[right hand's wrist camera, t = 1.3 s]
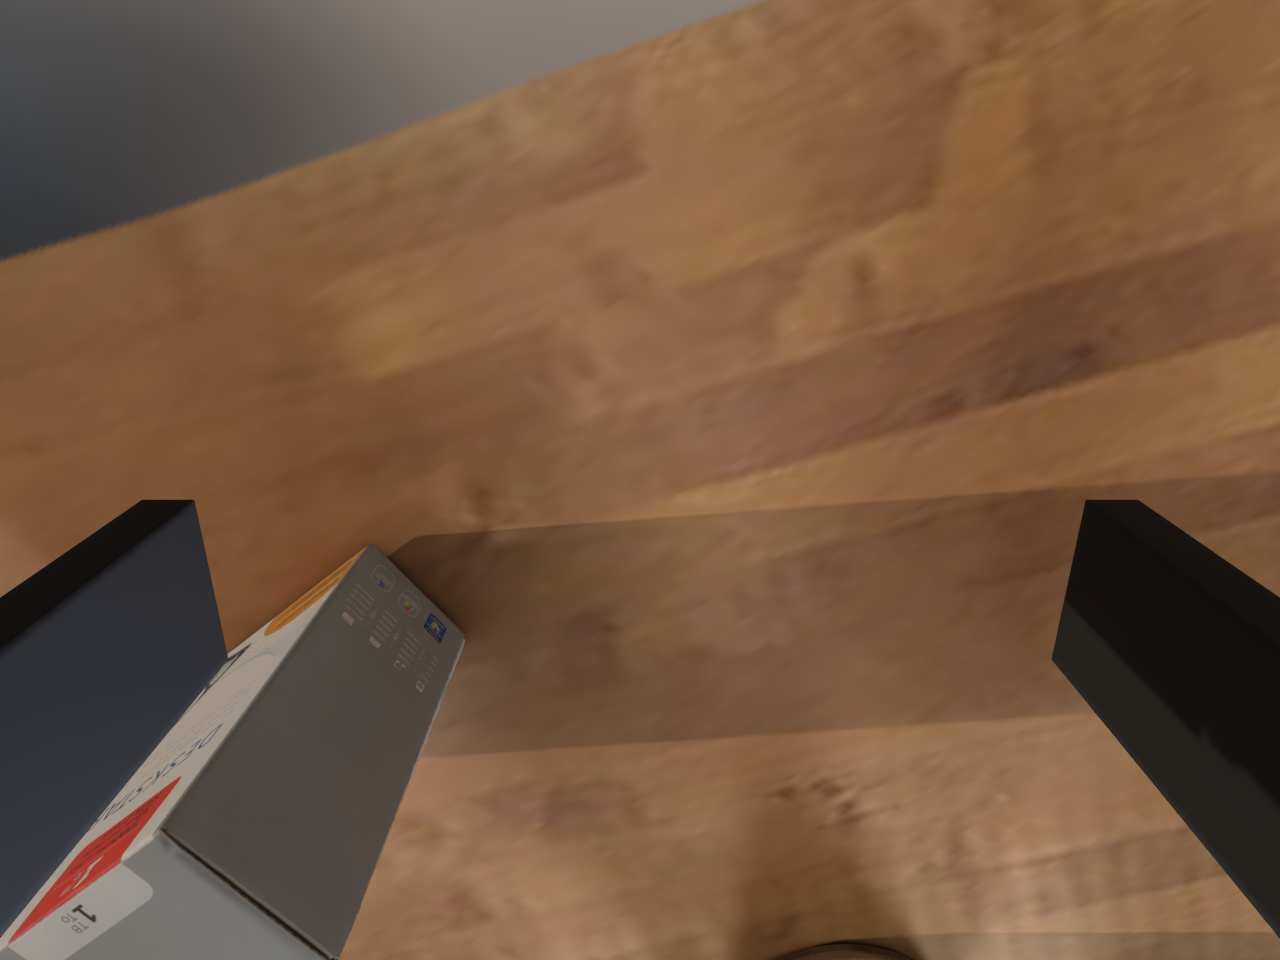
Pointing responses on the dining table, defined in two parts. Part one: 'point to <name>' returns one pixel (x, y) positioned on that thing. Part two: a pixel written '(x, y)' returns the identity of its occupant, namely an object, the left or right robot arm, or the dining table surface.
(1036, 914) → the dining table surface
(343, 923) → the hard drive box
